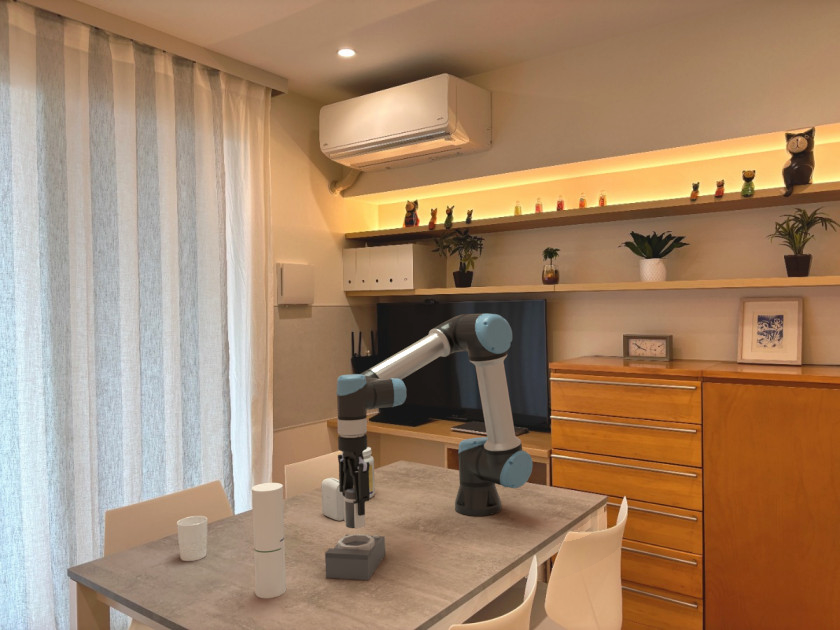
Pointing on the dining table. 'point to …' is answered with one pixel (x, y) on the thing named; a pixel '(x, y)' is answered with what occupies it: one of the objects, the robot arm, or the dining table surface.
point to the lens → (349, 507)
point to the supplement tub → (369, 459)
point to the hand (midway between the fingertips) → (354, 523)
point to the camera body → (355, 557)
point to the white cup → (192, 537)
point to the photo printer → (332, 499)
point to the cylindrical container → (269, 540)
